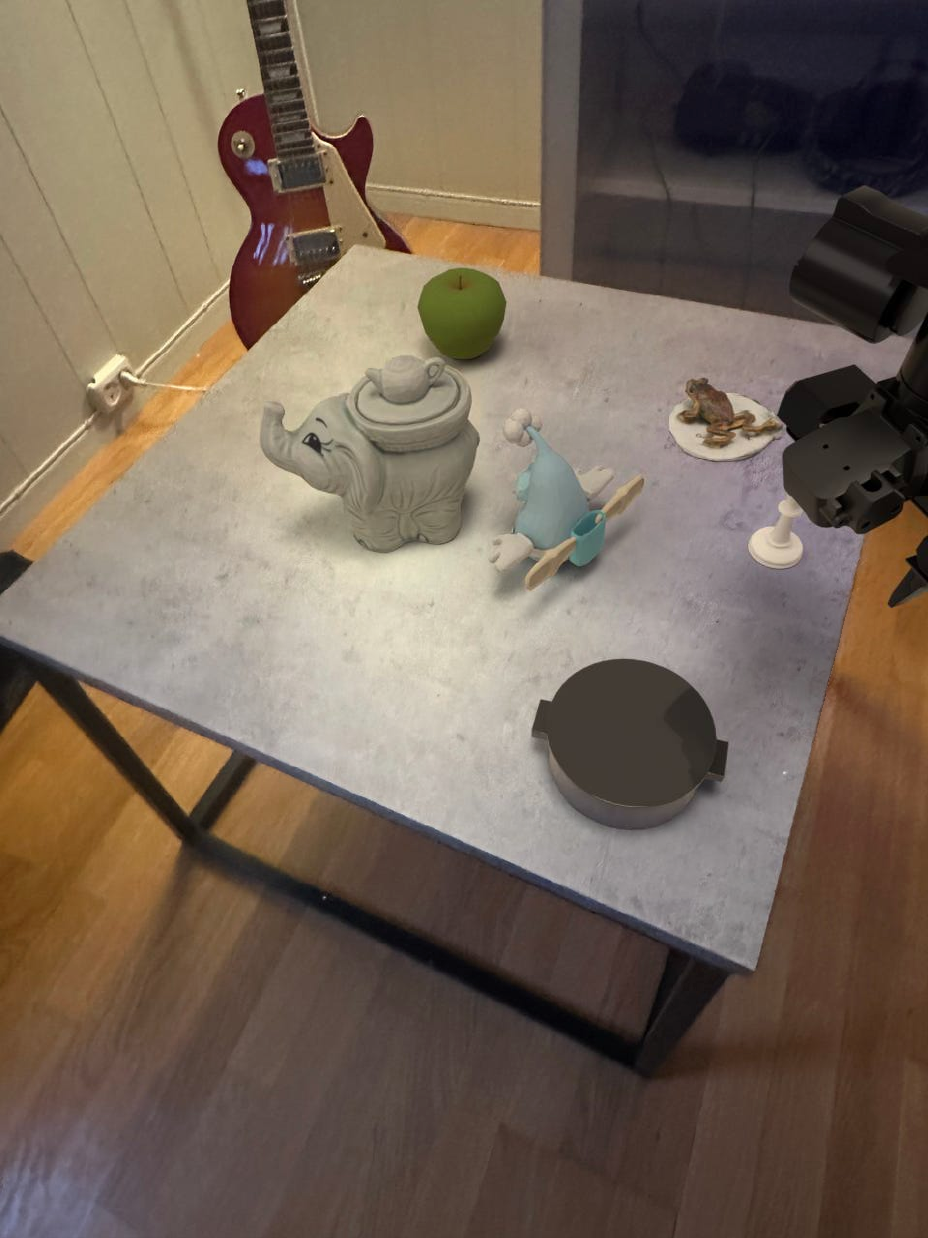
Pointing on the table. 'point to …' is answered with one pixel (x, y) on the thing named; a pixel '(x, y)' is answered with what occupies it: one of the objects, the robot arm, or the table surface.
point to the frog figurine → (721, 424)
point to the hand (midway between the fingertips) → (853, 557)
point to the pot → (629, 742)
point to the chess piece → (778, 539)
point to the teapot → (386, 451)
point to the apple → (462, 312)
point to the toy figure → (555, 507)
